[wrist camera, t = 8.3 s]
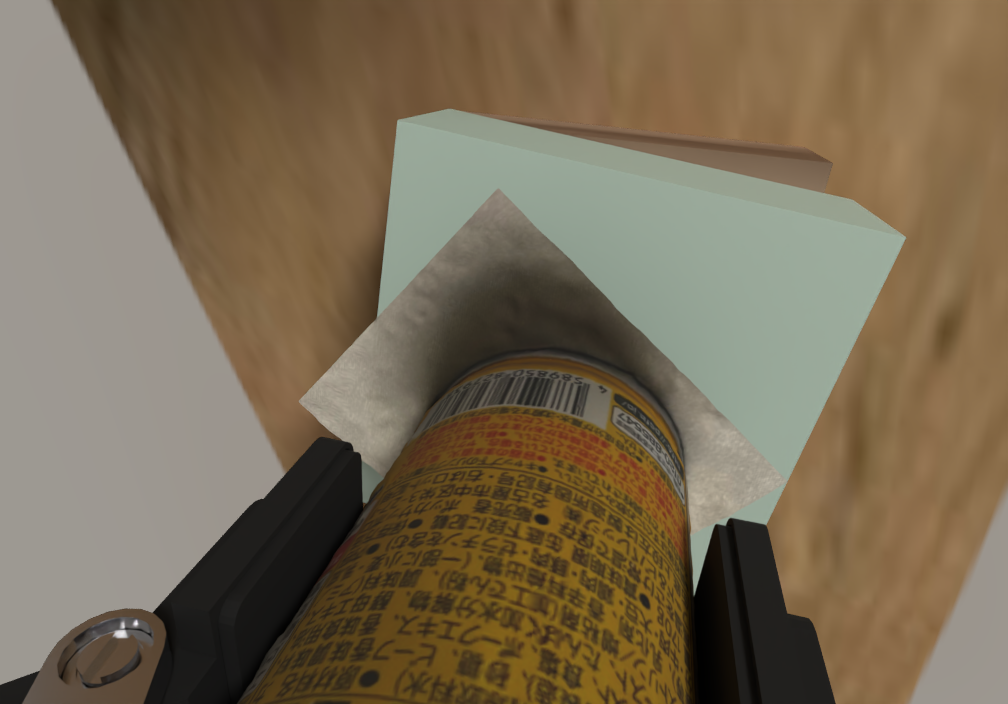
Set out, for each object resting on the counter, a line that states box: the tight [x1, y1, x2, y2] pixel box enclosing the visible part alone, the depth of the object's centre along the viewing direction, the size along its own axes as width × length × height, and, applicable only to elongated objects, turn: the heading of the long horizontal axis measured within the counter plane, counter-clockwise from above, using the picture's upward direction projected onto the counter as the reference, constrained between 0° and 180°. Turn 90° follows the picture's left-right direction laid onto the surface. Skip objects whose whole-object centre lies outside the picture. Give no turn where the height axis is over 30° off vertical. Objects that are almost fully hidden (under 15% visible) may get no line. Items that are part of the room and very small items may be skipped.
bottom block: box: [462, 111, 833, 193], centre depth 21 cm, size 11×11×4 cm
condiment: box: [237, 188, 788, 704], centre depth 9 cm, size 7×8×12 cm
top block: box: [362, 109, 906, 595], centre depth 18 cm, size 11×11×4 cm
